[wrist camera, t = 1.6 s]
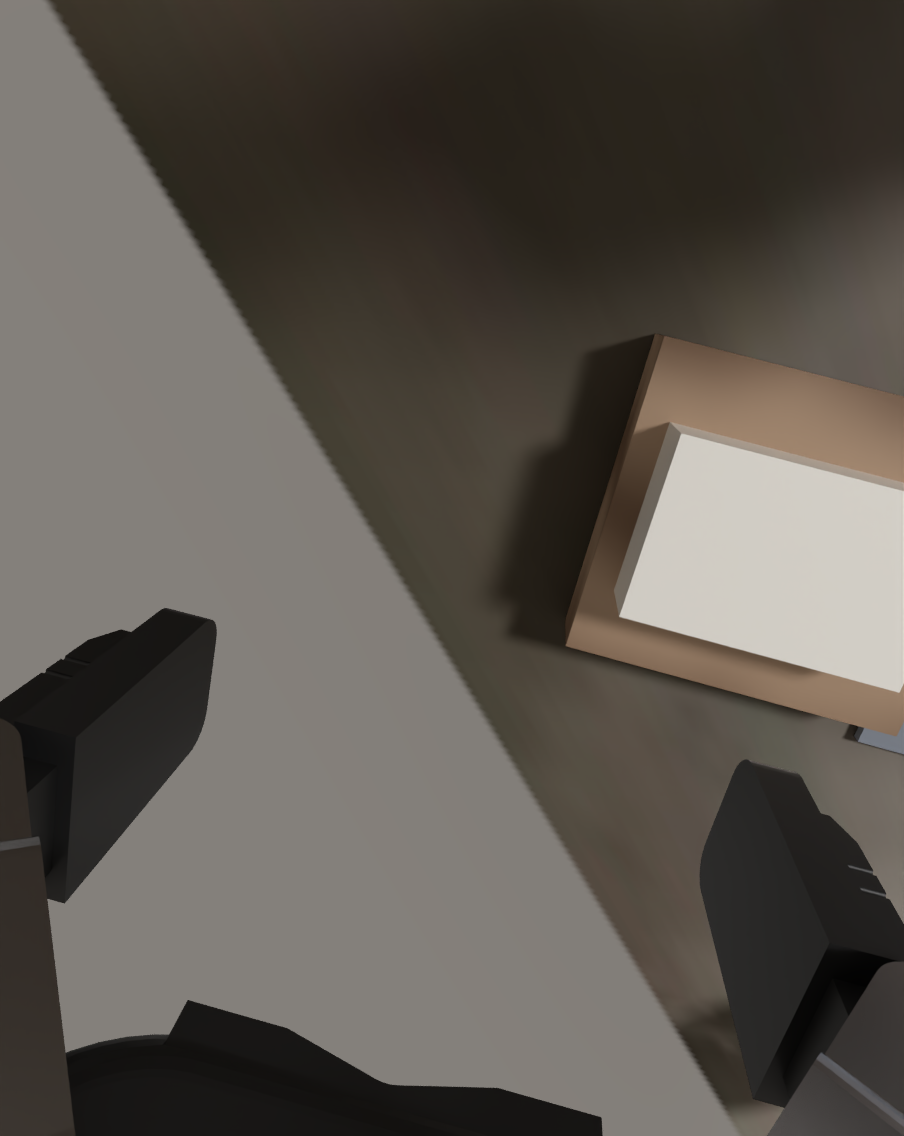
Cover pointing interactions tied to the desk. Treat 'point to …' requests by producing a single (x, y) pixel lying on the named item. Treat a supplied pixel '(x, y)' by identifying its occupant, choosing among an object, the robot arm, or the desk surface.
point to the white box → (771, 556)
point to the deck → (756, 415)
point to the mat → (881, 739)
